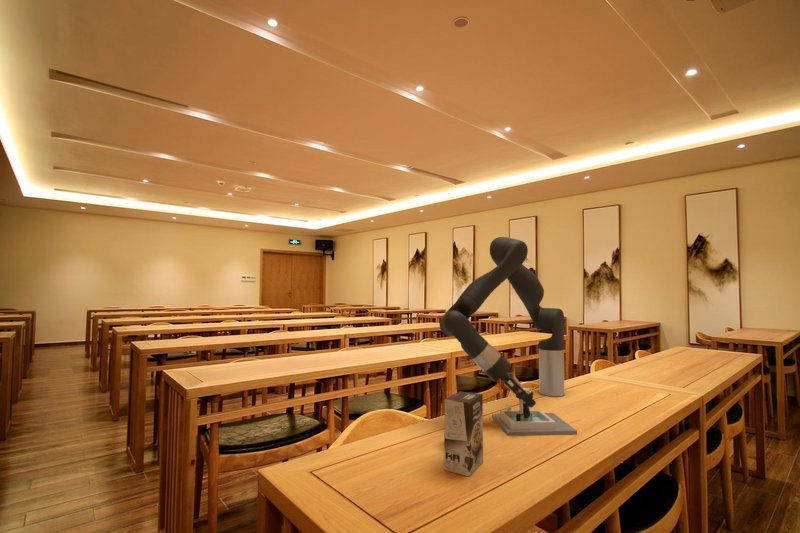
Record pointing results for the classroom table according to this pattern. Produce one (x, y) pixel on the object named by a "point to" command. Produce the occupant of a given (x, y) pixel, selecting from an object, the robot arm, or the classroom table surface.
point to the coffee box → (463, 432)
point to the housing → (532, 423)
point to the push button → (524, 408)
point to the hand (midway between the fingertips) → (530, 401)
